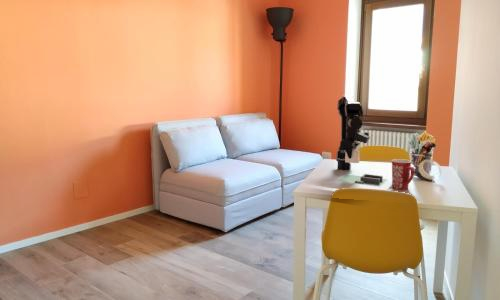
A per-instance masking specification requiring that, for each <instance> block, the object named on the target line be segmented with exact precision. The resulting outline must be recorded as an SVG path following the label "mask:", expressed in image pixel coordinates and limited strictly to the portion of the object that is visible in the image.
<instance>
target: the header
mask: <svg viewBox="0 0 500 300" xmlns="http://www.w3.org/2000/svg"><path fill="white" fill-rule="evenodd" d="M360 176H361V179H360V180H362V181H364V182H365V183H373V184H380V182H382V180H383V179H384V178H383V177H384V176H383V175H378V174H377V175H376V174H369V173H364V174H362V175H360Z"/></svg>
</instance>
